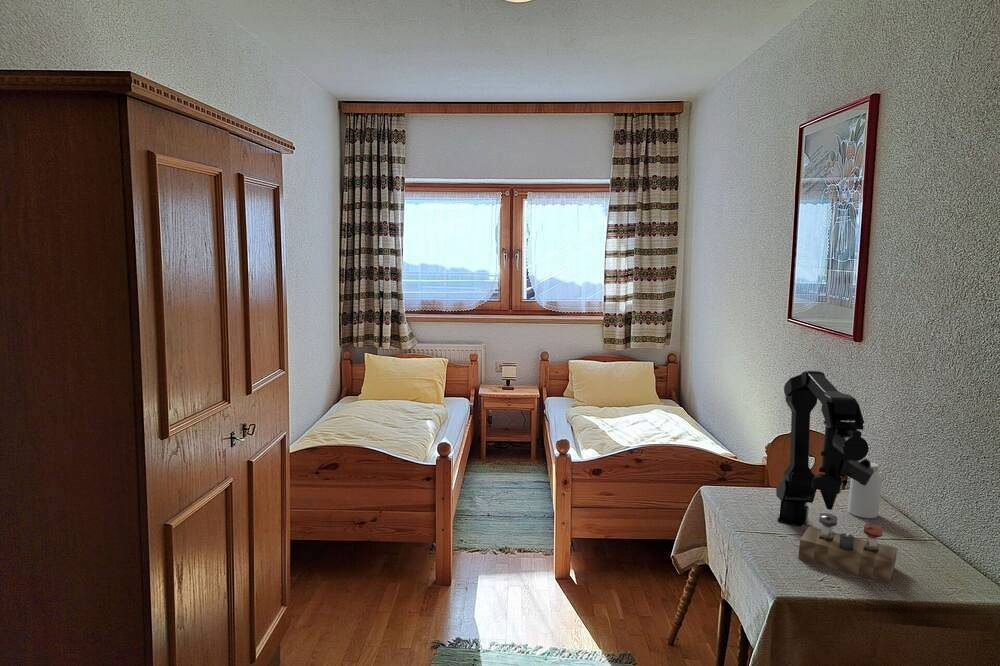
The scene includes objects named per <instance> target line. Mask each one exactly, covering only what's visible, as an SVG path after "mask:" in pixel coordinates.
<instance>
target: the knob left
mask: <svg viewBox="0 0 1000 666" xmlns="http://www.w3.org/2000/svg"><path fill="white" fill-rule="evenodd" d="M818 522H819V523H820V524H822V525H821V529H822V532H821V539H823V540H826V541H830V542H831V539H832V532H833V531H834V529H833V528H834V527H835V526H837V525H838V516H837V515H835V514H832V513H826V512H825V513H822V512H821V513H820V514H819V519H818Z"/></svg>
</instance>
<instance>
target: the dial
mask: <svg viewBox="0 0 1000 666" xmlns="http://www.w3.org/2000/svg"><path fill="white" fill-rule="evenodd" d="M840 534H841V535H840V543H839V547H840V548H841V549H843V550H847V551H851V550H853V544H854V538H855V536H854V535H852V534H850V532H846V533H840Z"/></svg>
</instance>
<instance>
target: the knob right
mask: <svg viewBox="0 0 1000 666" xmlns="http://www.w3.org/2000/svg"><path fill="white" fill-rule="evenodd" d="M863 533H864V534H865V535H866V539H865V540H866V548H865V550H866V551H870V552H874V553H876V551H877V543H878V541H879V538H880V537H883V533H884V528H883V527H882V526H880V525H878V524H875V523H865V524H864V526H863ZM878 544H879V543H878Z"/></svg>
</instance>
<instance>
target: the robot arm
mask: <svg viewBox="0 0 1000 666" xmlns="http://www.w3.org/2000/svg"><path fill="white" fill-rule="evenodd" d="M783 392H784V396H785V403H786V404H787V406H788V408H789V409H790V411H791V416H790V417H791V419H790V420H791V421H790V422H791V423H790V447H789V448H790V450H789V451H790V453H789V464H788V466H787V467H786V468H785V470H784V471H783V473H782V479H781V481H780V483H779V484H777V487H776V489H775V490H776V491H775V493H776V497H777V498H778V499H779V500H780V508H779V517H778V518H777V522H780V523H784V524H790V525H793V526H796V527H800V526H802V527H803V526H804V524H806V523H807V522H808V518H809V510H810V509H809V508H810V507H809V505H808V504H809V503H810V504H813V502H814V500H815V497H816V494H817V491H818V490H819V491H820V494H821V497H822V500H823V501H824V504H825V507H826V509H827V510H830V511H832V510H833V507H834V505H835V502H836V500H837V497H838V494H841V492H842V490H844V488H845V487H846V485H847V484H848V483H849V481H848V480H846V478H847V477H848V478H850V479H851V478H852V479H854V480H856V481H858V482H859V483H860V484H862V485H864V486H866V484H867V483H868V481H869V479H870V478H871V476H872V474H873V473H874V470H873V468H872V469H871V462H872V461H870V459H869V460H868V459H867V458H866V457H867V456H868V453H869V450H870V448H869V444H868V442H867V440H866V439H864V438H863V437H862V434H863V433H862V431H863V430H864V428H865V427H864V424H865V421H864V417H863V414H862V410H861V407H860V404H859V402H858V400H857V399H856V398H855V397H854V396H852V395H850V394H848V393H844V392H841V391H839V390H838V389H837V388H836V387H835V386H834V384H832V383H831V381H829V380H828V378H827V377H826V375H825V373H824V372H822V371H820V370H805V371H803V372H802V373H800V374H798V375H795V376H793V377H790V378H789V380H787V382H785V384H784V386H783ZM818 401H819V402H820V404H821V409H820V411H821V413H822V415H823V419H824V421H823V424H824V425H825V429H824V438H823V448H822V450H821V451H820V456H821V465H820V466H819V469H818V472H819V473H818V474H816V475H815V473H813V471H812V469H811V468H810V466H809V462H810V460H809V459H810V435H811V434H810V433H811V432H810V427H811V413H812V411H813V409H814V408H815V407H816V405H817V404H818ZM861 430H862V431H861ZM859 461H860V462H859Z"/></svg>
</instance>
